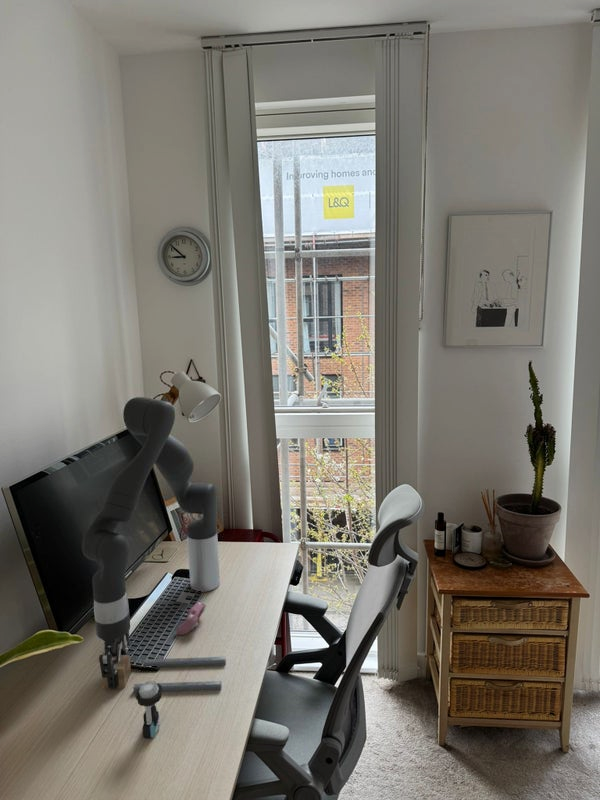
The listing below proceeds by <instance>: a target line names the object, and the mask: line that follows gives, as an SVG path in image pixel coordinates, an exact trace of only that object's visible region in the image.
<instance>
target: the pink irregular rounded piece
mask: <svg viewBox="0 0 600 800" xmlns="http://www.w3.org/2000/svg"><path fill="white" fill-rule="evenodd" d="M206 607H207V604H205V603H203V602H200V601H198V602H197V603H195V604H194V606H192V607H191V608H190V609H189V610H188V612H187V617H186V619H185V620H184V622H183V623H181V624H180V625H179V626H177V627H176V629H175V633H176V634H177V635H178V636H182V635H185V634H187V633H189V632H190V631H193V629H194V627H197V626H198V625H199V622H200V621H201V616H202V614H204V612H205V609H206Z"/></svg>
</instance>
